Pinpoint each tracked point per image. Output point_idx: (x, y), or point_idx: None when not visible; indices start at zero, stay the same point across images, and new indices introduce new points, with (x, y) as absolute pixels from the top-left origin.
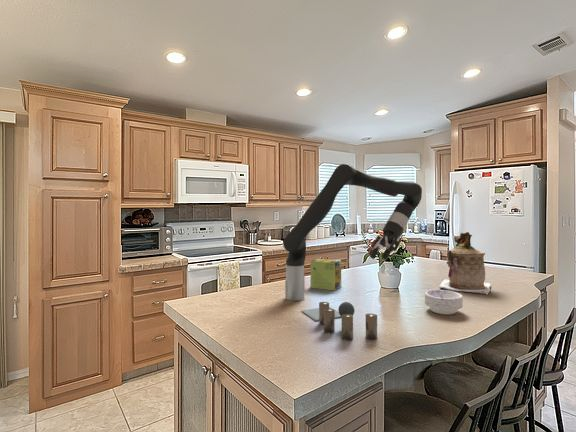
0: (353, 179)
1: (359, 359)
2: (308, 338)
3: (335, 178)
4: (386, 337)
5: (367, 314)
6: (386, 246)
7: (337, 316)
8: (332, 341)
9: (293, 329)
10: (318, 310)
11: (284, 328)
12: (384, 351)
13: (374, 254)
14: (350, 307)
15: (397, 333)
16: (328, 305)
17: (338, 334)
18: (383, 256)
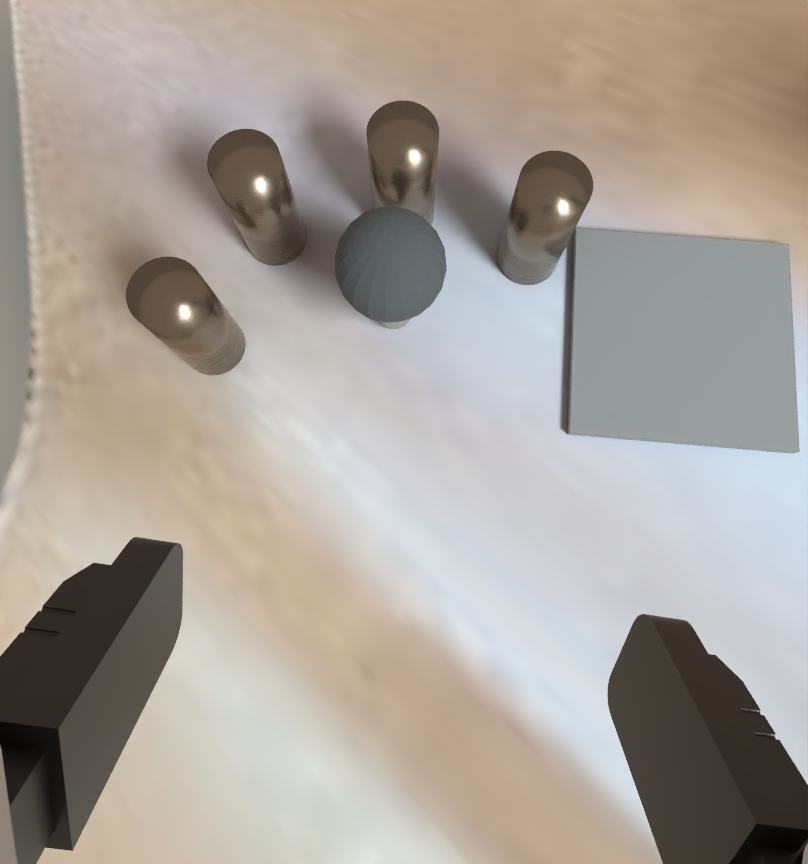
0: None
1: (68, 149)
2: (373, 86)
3: None
4: (173, 418)
5: (190, 281)
6: (5, 859)
7: (576, 374)
8: (283, 158)
9: (516, 80)
10: (744, 337)
11: (550, 50)
12: (59, 289)
13: (657, 748)
14: (341, 250)
15: (180, 516)
16: (521, 204)
17: (342, 230)
18: (125, 561)
